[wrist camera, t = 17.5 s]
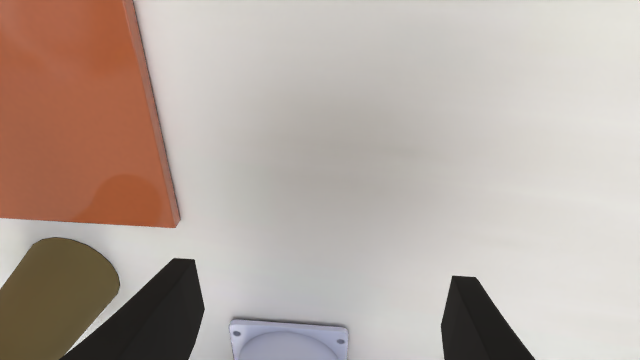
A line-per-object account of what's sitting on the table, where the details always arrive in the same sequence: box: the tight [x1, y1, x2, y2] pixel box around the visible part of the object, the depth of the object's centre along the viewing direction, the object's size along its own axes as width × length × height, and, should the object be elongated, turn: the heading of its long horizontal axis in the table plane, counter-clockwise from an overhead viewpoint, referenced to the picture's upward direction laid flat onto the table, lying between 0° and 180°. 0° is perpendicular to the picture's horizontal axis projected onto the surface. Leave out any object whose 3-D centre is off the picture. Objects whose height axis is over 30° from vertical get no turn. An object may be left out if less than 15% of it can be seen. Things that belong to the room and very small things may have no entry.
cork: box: [0, 238, 120, 360], centre depth 23 cm, size 6×6×11 cm
